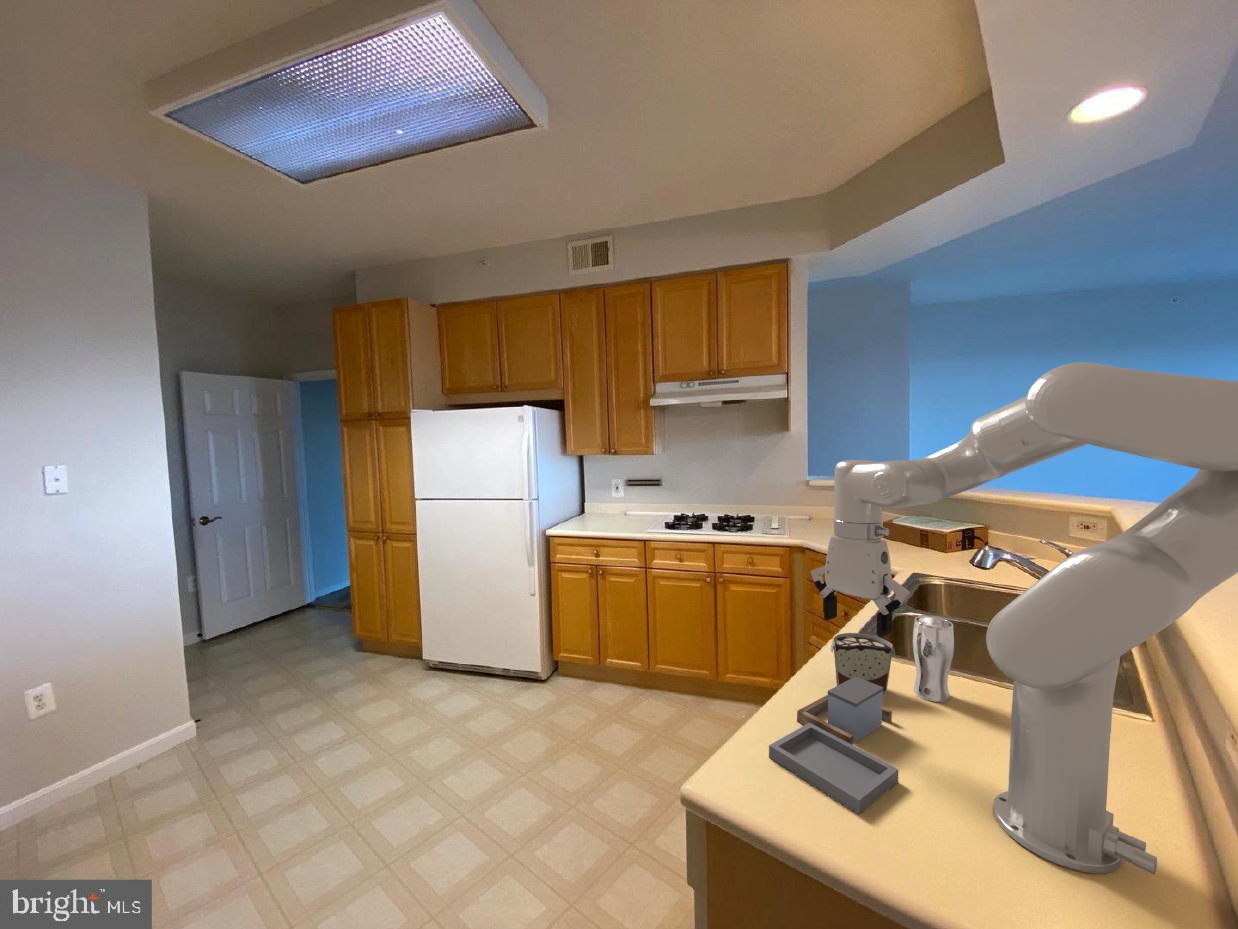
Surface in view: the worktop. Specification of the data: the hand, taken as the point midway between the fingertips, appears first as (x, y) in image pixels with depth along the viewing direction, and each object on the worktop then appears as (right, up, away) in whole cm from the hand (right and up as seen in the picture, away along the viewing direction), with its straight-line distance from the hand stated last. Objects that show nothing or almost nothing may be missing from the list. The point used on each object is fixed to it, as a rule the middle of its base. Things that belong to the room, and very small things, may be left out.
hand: (855, 626), depth 88 cm
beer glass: (+21, -18, +12) cm, 30 cm away
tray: (-9, -19, -10) cm, 23 cm away
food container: (+8, -18, +16) cm, 25 cm away
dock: (-1, -18, +2) cm, 18 cm away
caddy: (0, -18, +1) cm, 18 cm away
